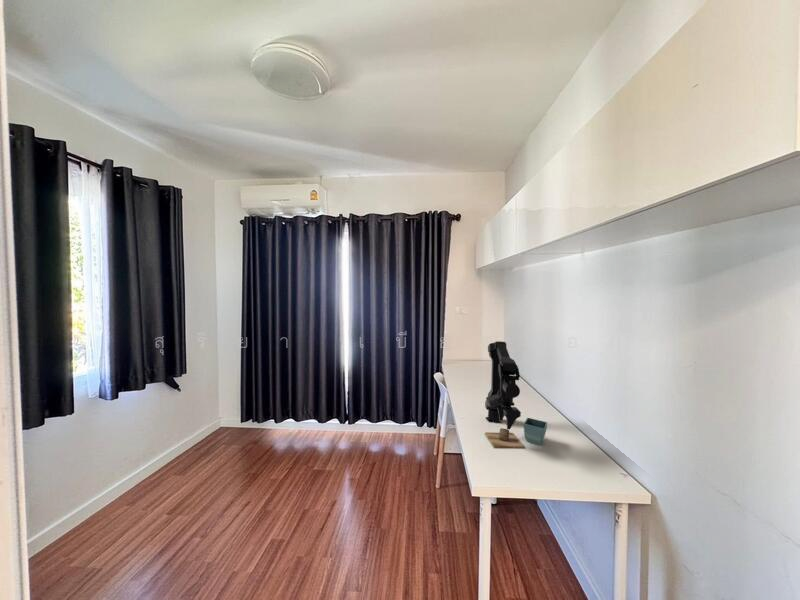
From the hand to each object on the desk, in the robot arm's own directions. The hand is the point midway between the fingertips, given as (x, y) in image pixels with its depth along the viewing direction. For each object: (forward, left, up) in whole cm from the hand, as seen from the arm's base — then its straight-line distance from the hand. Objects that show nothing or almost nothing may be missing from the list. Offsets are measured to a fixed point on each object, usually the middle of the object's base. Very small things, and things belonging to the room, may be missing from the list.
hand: (504, 424), depth 151 cm
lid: (0, 0, -7) cm, 7 cm away
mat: (0, 0, -8) cm, 8 cm away
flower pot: (0, +14, -8) cm, 16 cm away
